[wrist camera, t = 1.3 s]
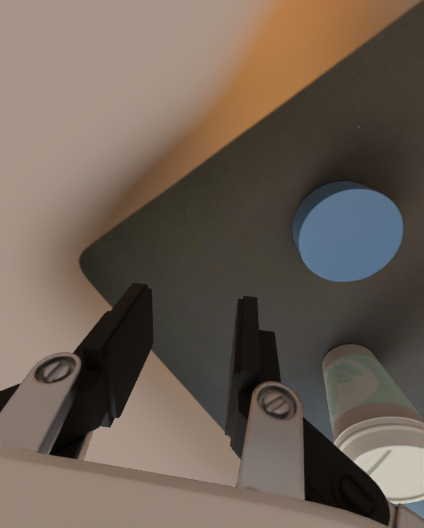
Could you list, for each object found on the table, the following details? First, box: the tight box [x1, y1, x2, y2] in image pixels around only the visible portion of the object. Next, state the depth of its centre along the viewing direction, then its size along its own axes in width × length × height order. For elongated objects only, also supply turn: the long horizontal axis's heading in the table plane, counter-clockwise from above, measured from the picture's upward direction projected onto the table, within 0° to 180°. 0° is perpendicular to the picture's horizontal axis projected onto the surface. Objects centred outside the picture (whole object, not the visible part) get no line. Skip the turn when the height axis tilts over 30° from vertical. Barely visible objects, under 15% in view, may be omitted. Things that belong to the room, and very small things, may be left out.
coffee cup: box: [322, 344, 424, 504], centre depth 27 cm, size 8×8×12 cm
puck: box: [292, 181, 403, 282], centre depth 25 cm, size 8×8×4 cm
